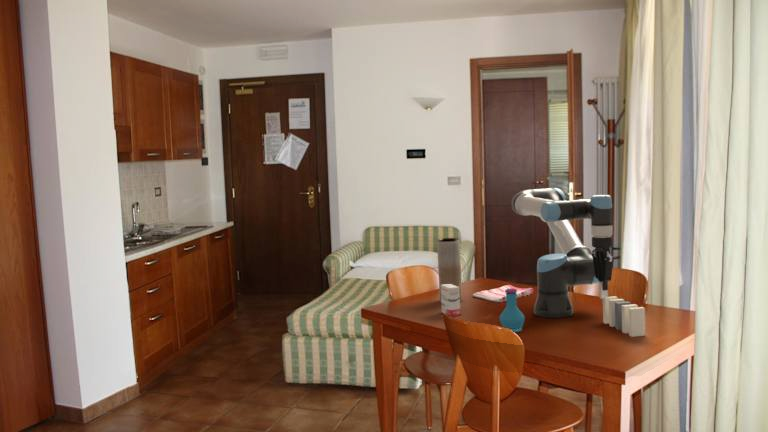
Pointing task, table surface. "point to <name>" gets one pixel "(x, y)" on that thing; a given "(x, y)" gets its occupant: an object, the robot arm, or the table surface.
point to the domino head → (607, 308)
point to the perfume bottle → (512, 312)
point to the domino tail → (637, 321)
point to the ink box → (450, 299)
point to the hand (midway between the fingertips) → (603, 298)
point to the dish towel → (501, 293)
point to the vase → (449, 263)
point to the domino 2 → (619, 314)
